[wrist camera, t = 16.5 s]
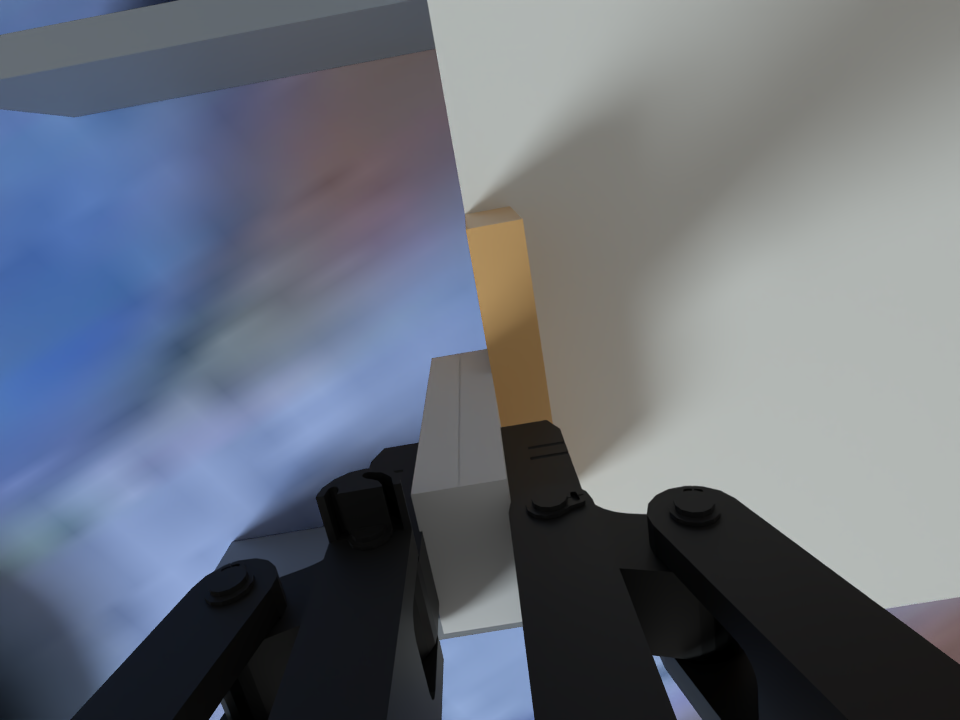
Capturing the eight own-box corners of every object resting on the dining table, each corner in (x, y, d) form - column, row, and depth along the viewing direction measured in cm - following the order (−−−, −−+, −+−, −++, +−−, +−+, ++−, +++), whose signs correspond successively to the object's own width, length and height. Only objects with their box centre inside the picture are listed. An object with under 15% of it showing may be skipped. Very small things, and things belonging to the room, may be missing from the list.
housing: (64, 89, 23) (-118, 57, 16) (926, -76, 22) (1150, -190, 15) (237, 558, 30) (167, 683, 23) (892, 449, 29) (1033, 544, 22)
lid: (417, -58, 14) (398, -149, 10) (1123, -196, 14) (1415, -353, 10) (541, 640, 21) (560, 759, 17) (1011, 565, 21) (1150, 668, 17)
